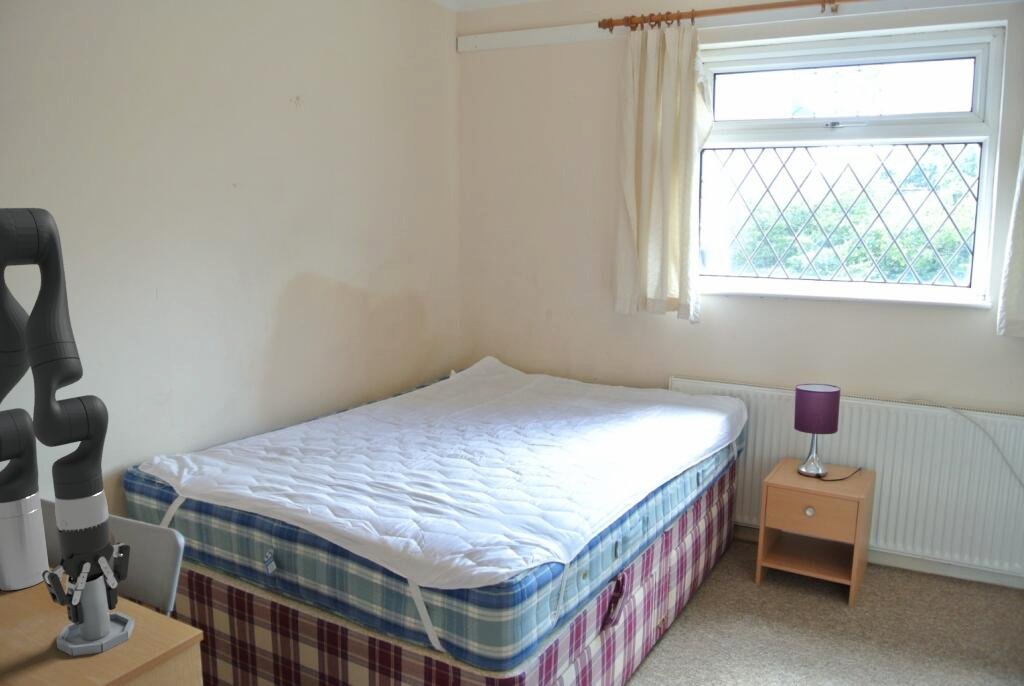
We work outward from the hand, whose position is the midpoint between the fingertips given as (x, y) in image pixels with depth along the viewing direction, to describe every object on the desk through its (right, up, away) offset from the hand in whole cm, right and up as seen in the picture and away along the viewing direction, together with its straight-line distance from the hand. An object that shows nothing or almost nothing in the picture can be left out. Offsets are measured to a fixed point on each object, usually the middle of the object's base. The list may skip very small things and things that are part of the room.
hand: (94, 615), depth 137 cm
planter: (0, -3, +1) cm, 3 cm away
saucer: (0, -4, +1) cm, 4 cm away
